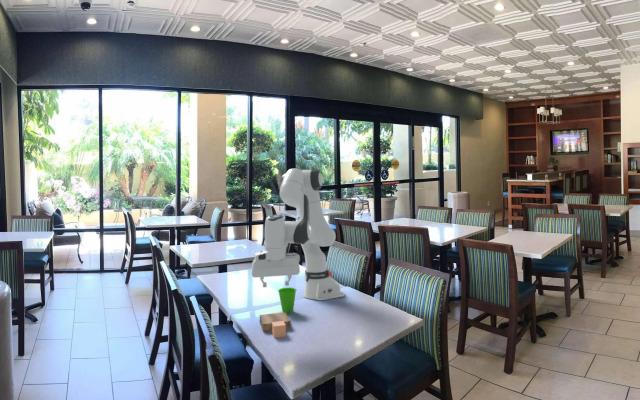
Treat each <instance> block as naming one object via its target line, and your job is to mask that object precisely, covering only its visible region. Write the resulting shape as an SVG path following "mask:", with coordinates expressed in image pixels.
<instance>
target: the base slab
mask: <svg viewBox="0 0 640 400" xmlns="http://www.w3.org/2000/svg"><path fill="white" fill-rule="evenodd" d="M278 321H284V323H285V325H286V330H291V326H292V325H291V319H290V318H289V316H288V314H286V312H283V311H282V312H275V313H267V314H266V313H265V314H264V313H263V314H259V324H260V326H261V330H262V332H263V333H269V332H270V333H271V332H272V322H278Z"/></svg>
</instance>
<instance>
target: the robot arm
mask: <svg viewBox="0 0 640 400" xmlns="http://www.w3.org/2000/svg"><path fill="white" fill-rule="evenodd" d="M323 183H324V178H323V174H322V172H321V171H320V170H319V169H315V168H314V169H300V168H296V167H295V168H290V169H288V170H287V171H286V173H284V174H282V176H281V178H280V187H279V188H280V189H279V197H280V200H281V201H282V202H283V203H284V204H286V205H287V206H288V207H293V208H295V209H298V210H299V220H292V221H291V220H285V217H284V216H283V215H281V214H271V215H268V216H267V217H266V218H265V222H264V241H265V244H264V249H262V250H259V251H256V252H255V253H254V254H253V257H254V259H253V260H252V263H251V269H250V270H251V277H253V278H259V279H260V281H261V283H262V287H263V288H267V287H268V285H267V282H266V281H264V279H265V278H268V277H281V276H282V277H283V276H287V279H286V280H284V286H287V287H289V286H290V281H291V279H292V276H296V275H299V274H300V271H301V269H300V261H301V257H300V254H298V253H297V252H287V245H286V244H295V245H296V244H297V245H301V248H302V251H303V253H304V254H303V255H304V259H305V270H304V272H305V273H304V281H305V286H304V293H303V295H302V296H303V297H304V298H305V299H309V300H316V301H325V300H332V299H338V298H342V297H345V292H344V290H342V289H341V286H340V284H339V282H338V281H336V280H335V279H334V278H333V277H331V276H332V275H333V272H332V271H331V270H330V271H329V270H328V269H327V263H326V261H327V258H326V254H325V253H324V252H323V251H322V249H321V248H320V247H330V246H332V245H334V243H335V241H336V236H337V235H336V232H335V230H334V229H333V228H332V227H331V226H330V224H328V222H327V220H326V218H325V216H324V213H323V208H322V203H321V197H320V191H319V190H321V188H322V187H323Z"/></svg>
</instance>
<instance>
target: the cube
mask: <svg viewBox="0 0 640 400" xmlns="http://www.w3.org/2000/svg"><path fill="white" fill-rule="evenodd" d="M271 332H272V333H271V334H272V336H273V338H274V339H277V338H285V337H287V333H286V332H287V329H286V325H285V323H284V321H278V322H272V331H271Z"/></svg>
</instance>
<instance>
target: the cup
mask: <svg viewBox="0 0 640 400" xmlns="http://www.w3.org/2000/svg"><path fill="white" fill-rule="evenodd" d="M277 292H278V295H279V299H280V305H281V311H282V312H286V314H287V315H289V314H292V313H294V307H295V300H296V292H297V289H296V288H295V287H289V286H287V287H282V288H279V289H278V290H277Z"/></svg>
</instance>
